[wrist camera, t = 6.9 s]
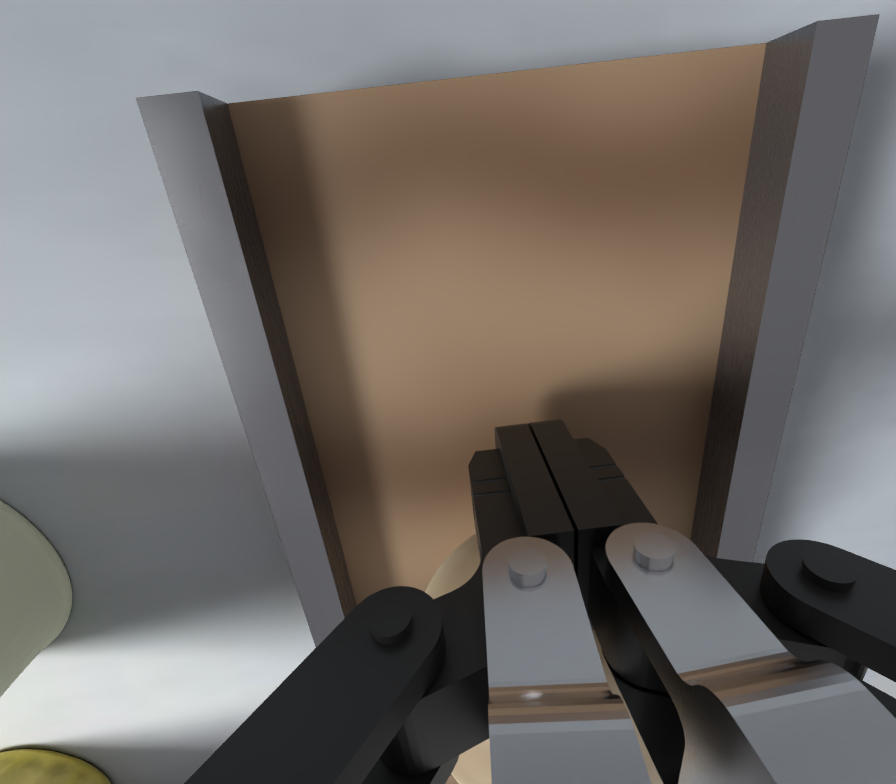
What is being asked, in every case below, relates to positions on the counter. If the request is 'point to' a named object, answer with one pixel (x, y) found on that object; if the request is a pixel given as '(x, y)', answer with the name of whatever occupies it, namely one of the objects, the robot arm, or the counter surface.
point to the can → (28, 594)
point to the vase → (46, 768)
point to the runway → (513, 285)
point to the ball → (448, 577)
